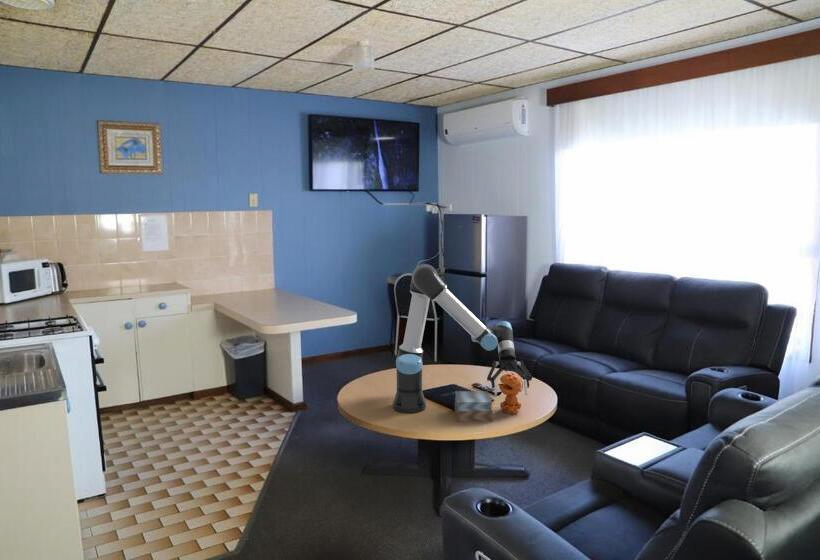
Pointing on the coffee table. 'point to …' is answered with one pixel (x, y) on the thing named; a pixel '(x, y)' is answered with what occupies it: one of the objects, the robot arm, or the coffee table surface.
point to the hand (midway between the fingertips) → (511, 394)
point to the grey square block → (473, 406)
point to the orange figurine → (510, 392)
